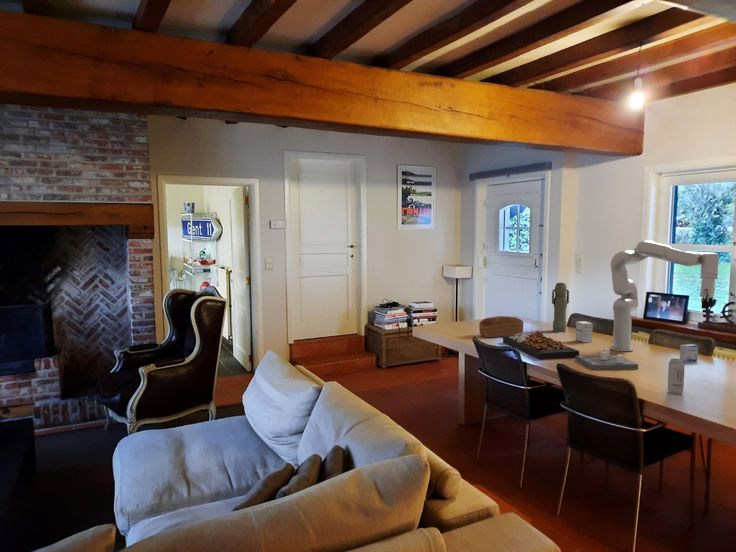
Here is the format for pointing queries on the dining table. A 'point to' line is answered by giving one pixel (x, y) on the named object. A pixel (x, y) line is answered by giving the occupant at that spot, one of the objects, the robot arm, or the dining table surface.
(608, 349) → the handle
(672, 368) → the energy drink can
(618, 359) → the handle
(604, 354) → the handle middle
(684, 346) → the medicine box
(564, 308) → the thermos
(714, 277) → the robot arm
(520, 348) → the food platter
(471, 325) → the dining table surface
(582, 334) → the white ridged canister
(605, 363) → the switch board
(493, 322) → the bread
